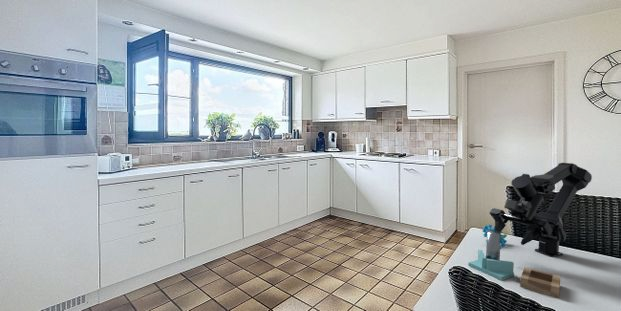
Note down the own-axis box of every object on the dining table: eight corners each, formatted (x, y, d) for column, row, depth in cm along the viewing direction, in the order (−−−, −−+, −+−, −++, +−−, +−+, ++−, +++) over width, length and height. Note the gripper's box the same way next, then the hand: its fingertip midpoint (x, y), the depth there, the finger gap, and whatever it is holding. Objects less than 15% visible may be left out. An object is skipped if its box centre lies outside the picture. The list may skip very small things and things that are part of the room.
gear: (490, 245, 118) (480, 223, 125) (481, 251, 123) (472, 229, 129) (514, 247, 120) (503, 225, 127) (504, 253, 125) (493, 231, 131)
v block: (479, 261, 107) (480, 249, 107) (515, 276, 96) (515, 262, 96) (467, 265, 104) (467, 252, 104) (502, 281, 93) (503, 266, 93)
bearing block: (524, 276, 96) (524, 267, 96) (560, 285, 90) (560, 276, 90) (520, 286, 90) (520, 277, 90) (558, 297, 84) (559, 287, 83)
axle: (495, 264, 102) (496, 230, 101) (501, 269, 98) (503, 234, 97) (483, 264, 103) (484, 230, 102) (489, 269, 99) (490, 234, 98)
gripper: (493, 187, 113) (472, 219, 109) (548, 196, 96) (526, 234, 92) (505, 205, 117) (486, 236, 113) (561, 216, 100) (541, 254, 96)
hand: (507, 239), depth 103 cm, fingers open, 9 cm apart
